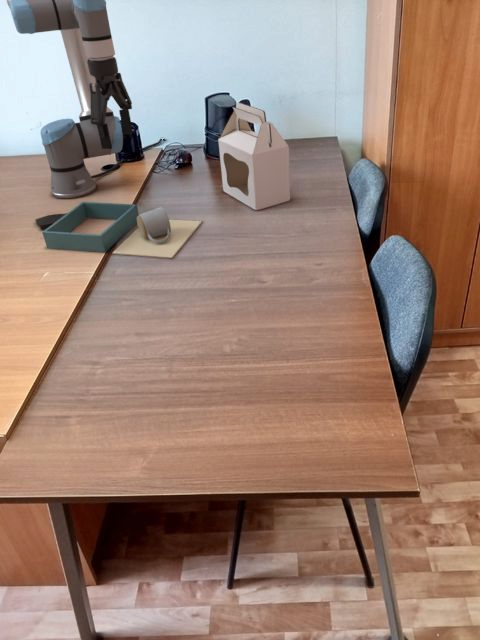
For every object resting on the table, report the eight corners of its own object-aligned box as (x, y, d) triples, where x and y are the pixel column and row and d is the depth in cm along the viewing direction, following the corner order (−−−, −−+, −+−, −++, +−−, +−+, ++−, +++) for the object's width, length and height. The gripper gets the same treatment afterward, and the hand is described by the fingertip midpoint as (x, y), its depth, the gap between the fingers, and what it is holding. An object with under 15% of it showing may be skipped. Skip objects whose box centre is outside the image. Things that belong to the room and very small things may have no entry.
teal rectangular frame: (86, 216, 171) (82, 201, 168) (139, 219, 167) (136, 204, 164) (47, 248, 154) (41, 232, 151) (105, 252, 150) (101, 236, 147)
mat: (148, 219, 167) (147, 218, 167) (201, 222, 163) (201, 221, 163) (112, 254, 149) (112, 252, 148) (172, 258, 144) (171, 257, 144)
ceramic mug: (138, 234, 157) (133, 209, 152) (164, 227, 160) (160, 203, 155) (150, 248, 150) (145, 222, 145) (177, 240, 153) (173, 215, 148)
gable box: (222, 191, 183) (214, 104, 166) (255, 182, 188) (250, 97, 171) (256, 211, 167) (250, 117, 151) (290, 201, 173) (288, 109, 156)
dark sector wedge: (84, 220, 169) (82, 215, 168) (40, 231, 164) (39, 226, 163) (77, 211, 175) (76, 207, 174) (35, 221, 170) (33, 217, 169)
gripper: (109, 48, 150) (125, 127, 163) (63, 67, 131) (85, 154, 144) (134, 48, 148) (147, 128, 161) (90, 67, 129) (110, 155, 142)
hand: (118, 140), depth 153 cm, fingers open, 13 cm apart
